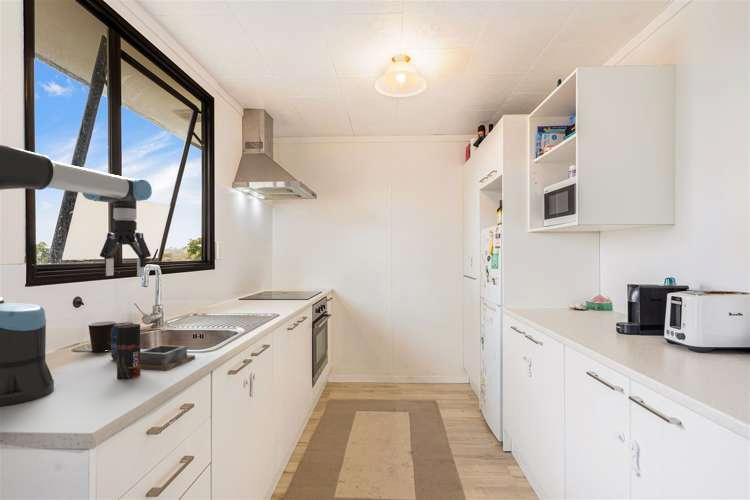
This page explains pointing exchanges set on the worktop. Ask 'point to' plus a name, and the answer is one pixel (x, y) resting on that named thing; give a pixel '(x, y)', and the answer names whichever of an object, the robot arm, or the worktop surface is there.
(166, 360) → the socket
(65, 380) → the worktop surface
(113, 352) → the soda can
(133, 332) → the deodorant
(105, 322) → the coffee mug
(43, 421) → the worktop surface
